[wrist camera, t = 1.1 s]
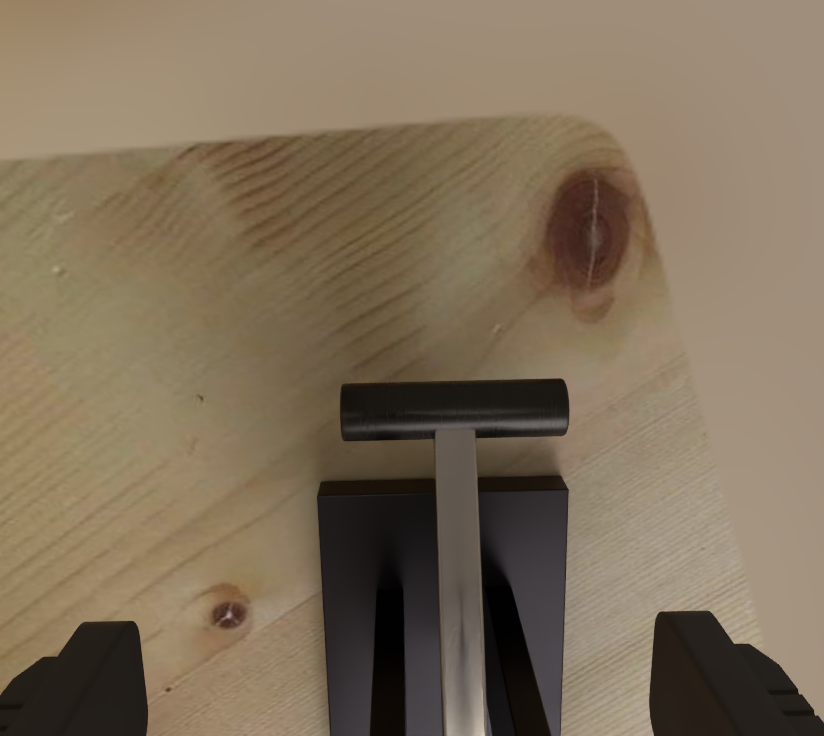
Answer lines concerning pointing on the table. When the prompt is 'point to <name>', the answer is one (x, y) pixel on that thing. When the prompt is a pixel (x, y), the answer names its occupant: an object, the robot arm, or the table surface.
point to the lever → (457, 499)
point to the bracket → (418, 604)
